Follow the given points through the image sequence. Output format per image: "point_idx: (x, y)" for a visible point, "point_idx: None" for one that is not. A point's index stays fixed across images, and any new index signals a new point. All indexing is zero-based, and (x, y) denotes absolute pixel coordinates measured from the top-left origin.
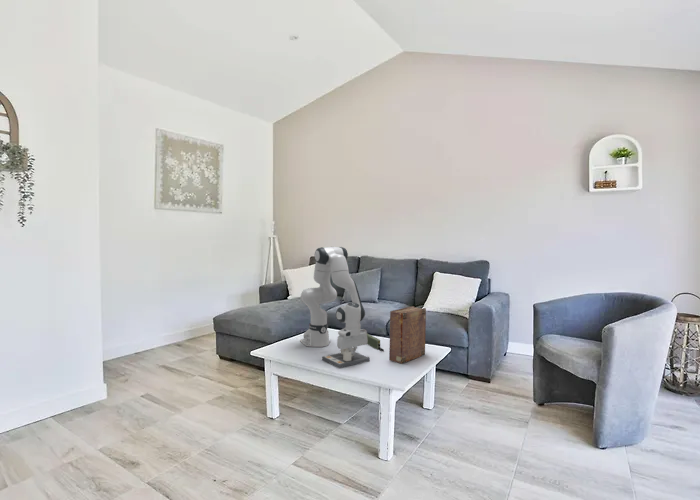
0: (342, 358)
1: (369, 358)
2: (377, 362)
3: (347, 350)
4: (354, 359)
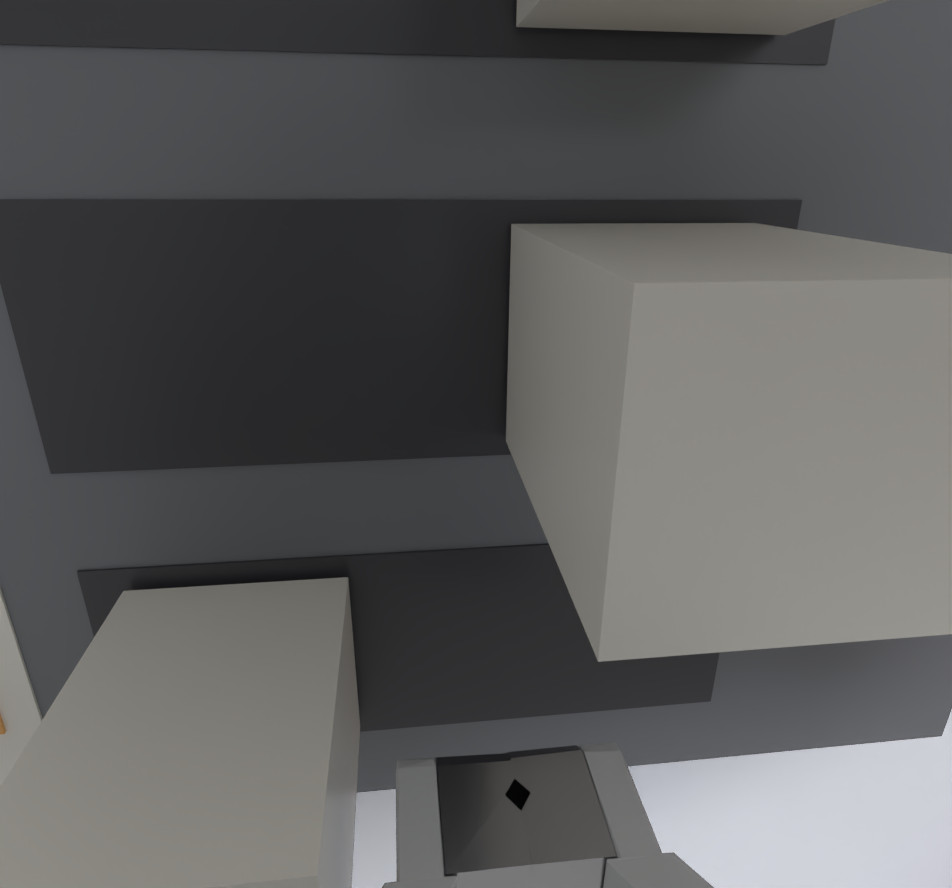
0: (205, 412)
1: (926, 723)
2: (923, 790)
3: (569, 423)
4: (514, 682)
